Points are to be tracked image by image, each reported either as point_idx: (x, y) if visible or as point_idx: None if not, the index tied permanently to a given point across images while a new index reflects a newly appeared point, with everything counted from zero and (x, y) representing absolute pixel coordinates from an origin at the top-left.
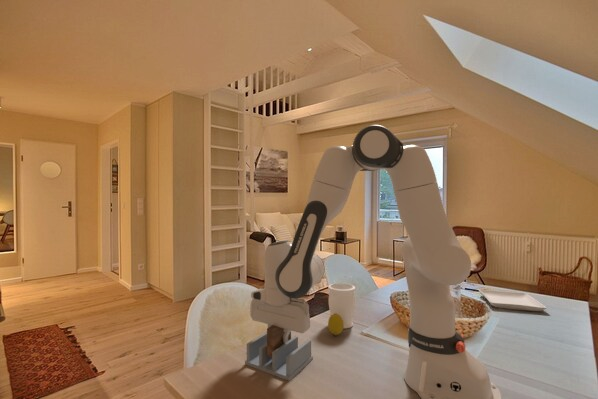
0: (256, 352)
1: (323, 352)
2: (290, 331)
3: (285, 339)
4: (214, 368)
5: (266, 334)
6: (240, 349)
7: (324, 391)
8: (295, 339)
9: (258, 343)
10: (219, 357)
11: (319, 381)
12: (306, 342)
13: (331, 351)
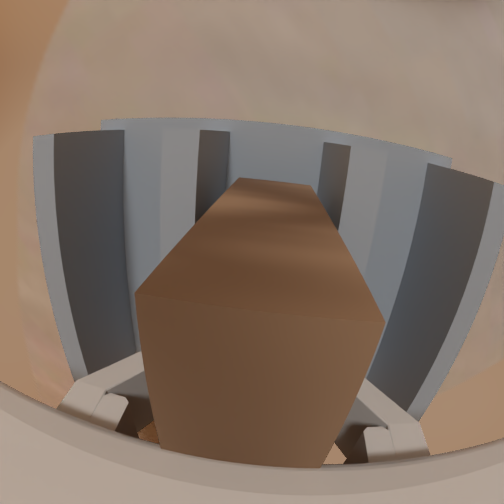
0: (119, 313)
1: (460, 57)
2: (403, 417)
3: None
4: (71, 383)
5: (61, 245)
6: (22, 239)
7: (498, 355)
8: (376, 203)
9: (94, 324)
10: (24, 324)
11: (489, 319)
12: (490, 244)
13: (487, 40)
